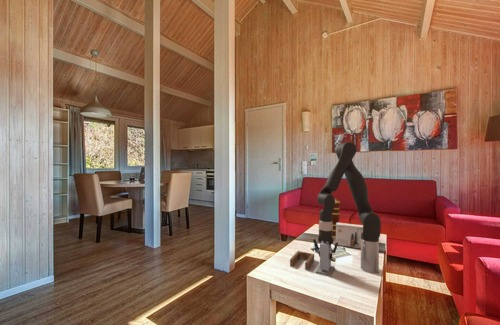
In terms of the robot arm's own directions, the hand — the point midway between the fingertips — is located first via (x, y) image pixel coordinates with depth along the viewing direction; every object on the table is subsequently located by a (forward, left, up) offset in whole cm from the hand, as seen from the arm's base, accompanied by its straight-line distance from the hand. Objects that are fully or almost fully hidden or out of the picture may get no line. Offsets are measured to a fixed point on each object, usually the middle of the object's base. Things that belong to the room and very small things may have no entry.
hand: (325, 258), depth 131 cm
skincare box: (-9, -50, -7) cm, 51 cm away
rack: (+14, -2, -7) cm, 16 cm away
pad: (0, 0, -7) cm, 7 cm away
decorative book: (+8, -74, -7) cm, 75 cm away
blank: (0, 0, -5) cm, 5 cm away
